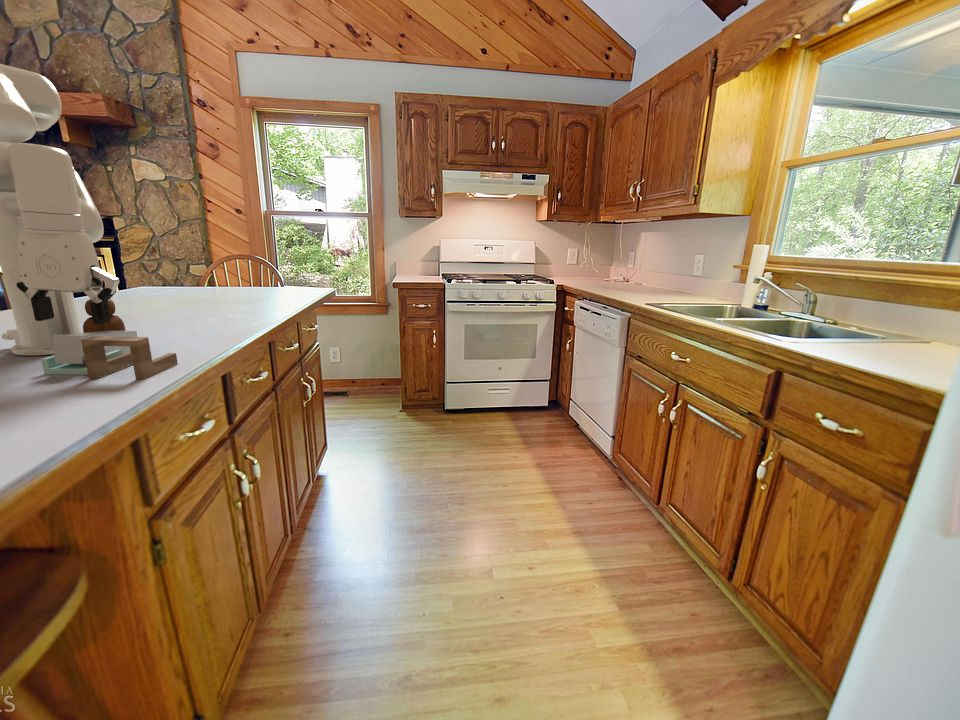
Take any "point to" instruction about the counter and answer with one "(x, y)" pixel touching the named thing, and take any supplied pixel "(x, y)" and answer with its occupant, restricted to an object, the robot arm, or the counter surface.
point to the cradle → (70, 365)
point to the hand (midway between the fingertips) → (74, 321)
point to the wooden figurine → (114, 323)
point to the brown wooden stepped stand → (123, 357)
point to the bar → (71, 348)
